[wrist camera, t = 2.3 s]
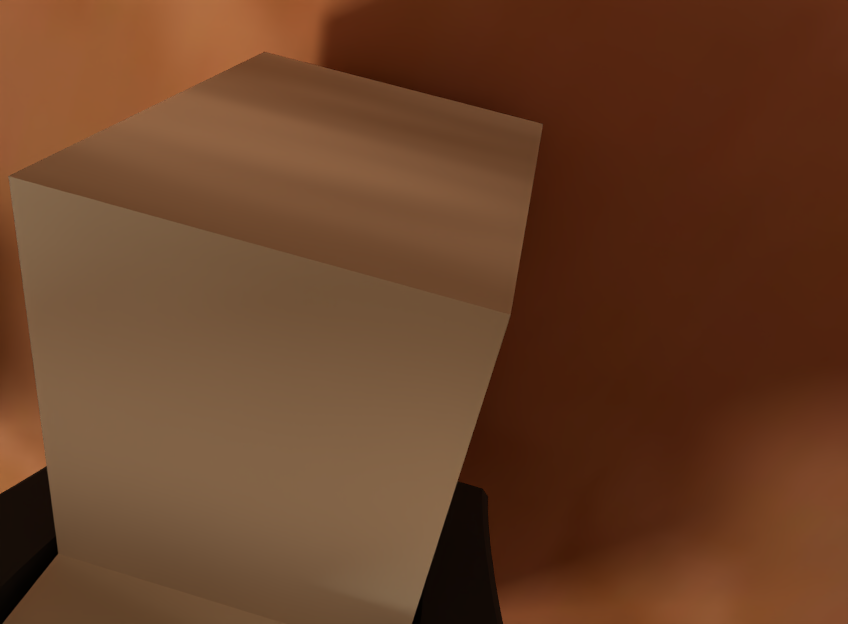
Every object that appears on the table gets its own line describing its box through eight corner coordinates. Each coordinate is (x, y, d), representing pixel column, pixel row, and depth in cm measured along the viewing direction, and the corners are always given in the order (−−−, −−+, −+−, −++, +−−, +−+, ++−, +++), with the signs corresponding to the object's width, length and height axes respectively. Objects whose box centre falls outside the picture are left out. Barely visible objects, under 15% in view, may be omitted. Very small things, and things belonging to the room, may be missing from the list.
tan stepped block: (388, 646, 14) (298, 992, 10) (224, 596, 14) (63, 911, 10) (543, 123, 8) (498, 388, 4) (264, 51, 8) (-88, 222, 4)
